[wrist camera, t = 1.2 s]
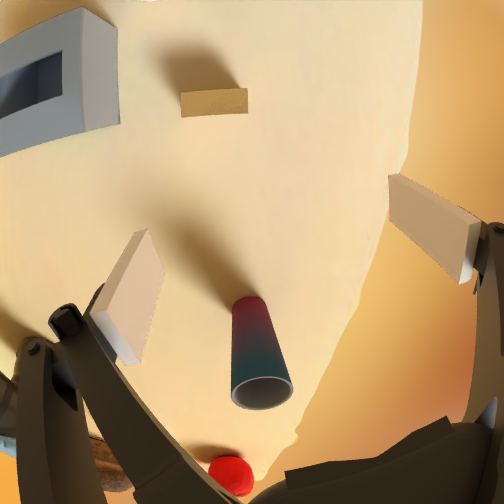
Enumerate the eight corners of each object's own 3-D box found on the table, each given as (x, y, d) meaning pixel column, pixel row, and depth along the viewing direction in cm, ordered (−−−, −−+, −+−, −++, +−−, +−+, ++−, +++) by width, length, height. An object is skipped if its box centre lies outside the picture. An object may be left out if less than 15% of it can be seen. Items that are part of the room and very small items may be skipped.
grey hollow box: (39, 143, 27) (-9, 160, 19) (35, 57, 22) (-14, 52, 13) (120, 123, 28) (82, 132, 20) (117, 29, 23) (81, 6, 14)
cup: (230, 288, 40) (237, 374, 27) (278, 293, 41) (302, 377, 28) (222, 324, 43) (226, 409, 30) (266, 329, 44) (283, 410, 31)
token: (188, 116, 29) (181, 117, 24) (187, 95, 28) (180, 92, 23) (243, 112, 30) (247, 113, 24) (242, 91, 28) (247, 88, 23)
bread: (135, 462, 70) (131, 503, 56) (45, 433, 62) (35, 471, 48) (138, 449, 64) (133, 495, 50) (38, 414, 56) (24, 457, 42)
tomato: (220, 447, 64) (223, 491, 52) (262, 454, 69) (268, 494, 57) (195, 462, 70) (196, 501, 58) (234, 469, 74) (237, 505, 62)
